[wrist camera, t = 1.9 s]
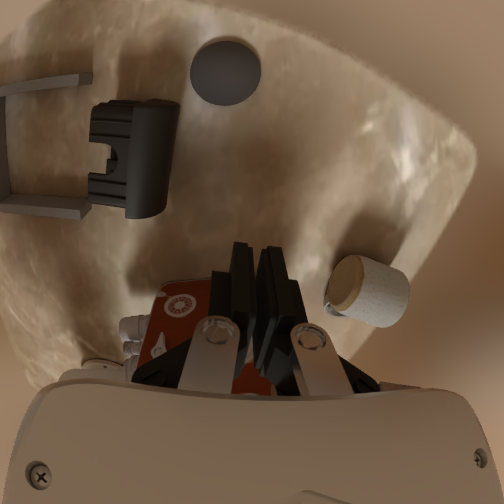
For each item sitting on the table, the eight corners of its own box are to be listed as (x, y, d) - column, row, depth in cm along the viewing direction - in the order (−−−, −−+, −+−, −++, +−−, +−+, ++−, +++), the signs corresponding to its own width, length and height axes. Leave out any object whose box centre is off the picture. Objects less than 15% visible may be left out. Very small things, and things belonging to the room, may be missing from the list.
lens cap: (253, 109, 26) (254, 110, 25) (187, 101, 26) (185, 102, 25) (265, 47, 23) (266, 46, 22) (197, 39, 22) (195, 38, 21)
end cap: (172, 194, 31) (158, 224, 25) (111, 186, 29) (85, 213, 24) (187, 101, 25) (172, 108, 20) (119, 95, 24) (88, 102, 19)
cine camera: (119, 276, 36) (65, 413, 19) (271, 261, 36) (295, 420, 19) (141, 325, 41) (110, 451, 24) (274, 316, 41) (293, 455, 24)
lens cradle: (91, 208, 31) (80, 220, 28) (5, 201, 29) (-8, 211, 26) (92, 72, 22) (79, 73, 20) (-3, 87, 21) (-18, 91, 18)
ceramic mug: (347, 239, 34) (369, 280, 28) (395, 258, 36) (420, 297, 30) (306, 302, 40) (317, 346, 33) (354, 314, 42) (368, 355, 35)
